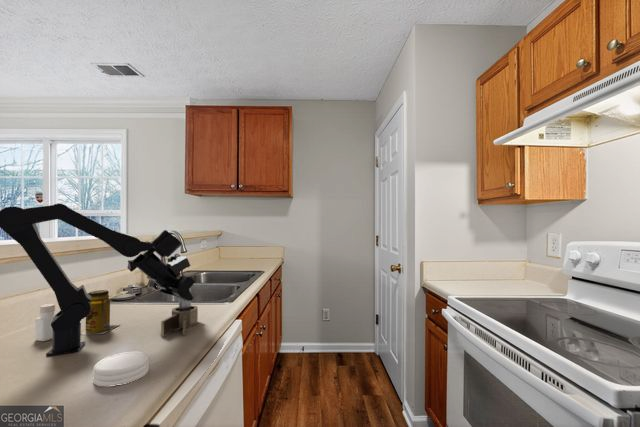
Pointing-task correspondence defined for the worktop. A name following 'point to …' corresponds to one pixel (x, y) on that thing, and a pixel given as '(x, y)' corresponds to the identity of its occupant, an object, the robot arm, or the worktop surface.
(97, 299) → the condiment
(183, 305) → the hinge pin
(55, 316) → the robot arm
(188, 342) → the worktop surface
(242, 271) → the worktop surface
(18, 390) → the worktop surface
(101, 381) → the coaster
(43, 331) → the pepper shaker
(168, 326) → the hinge
